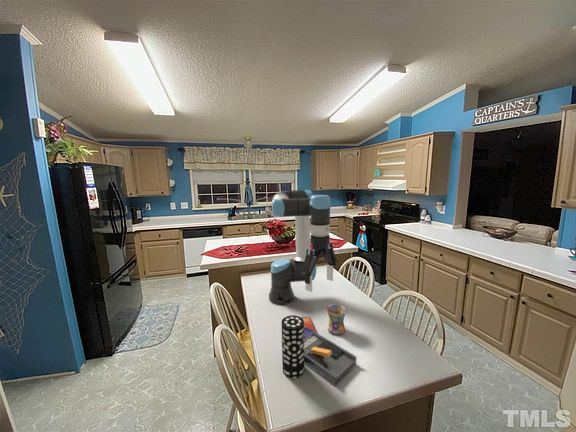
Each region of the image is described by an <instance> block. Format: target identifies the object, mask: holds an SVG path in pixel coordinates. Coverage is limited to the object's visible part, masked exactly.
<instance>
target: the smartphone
mask: <svg viewBox="0 0 576 432" xmlns="http://www.w3.org/2000/svg"><path fill="white" fill-rule="evenodd" d="M300 317H301V318H302V319H303V320H304V339H305V338H307V337H308V336H309V335H311V334H312V331H314V332H316V333H317V334H318V332H317V330H316V328H315V325H314V323H313V321H312V318H311V317H310V316H300Z"/></svg>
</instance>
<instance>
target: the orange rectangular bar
mask: <svg viewBox="0 0 576 432" xmlns="http://www.w3.org/2000/svg"><path fill="white" fill-rule="evenodd" d="M311 353H313V354H317V355H321V356H325V357H330V356H331V355H332V351H331V350H327V349H323V348H318V347H313V348H312V349H311Z"/></svg>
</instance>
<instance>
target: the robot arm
mask: <svg viewBox="0 0 576 432" xmlns="http://www.w3.org/2000/svg"><path fill="white" fill-rule="evenodd" d="M271 212H272V213H271V214H272V217H275V218H285V217H294V218H295V220H294V221H295V252H296V254H295V255H296V256H294V257H293V261H291V260H290V259H287V258H280V259H277V260H275V261H272V263H271V265H270V275H271V276H270V278H271V279H270V280H271V283H270V284H271V287H270V292H269V294H268V300H269V302H270V303H272V304H275V305H287V304H290V303H292V302H293V301H294V300H295V294H294V290H293V288H292V283H298V282H304V283H305V291H308V292H310V293H312V292H313V281H314V280H315V279H316V277H317V276H316V275H317V262H318V261H319V260H320V259H321V258H324V260H325V261H326V263H327V264H326V280H328V281H331V282H333V281H334V267H336V265H337V262H338V260H337V257H336V253H335V250H334V247H333V246H334V245H333V243H331V242H330V241H331V235H330V234H331V233H330V231H331V230H330V229H331V228H330V227H331V225H330V224H331V222H330V221H331V197H330V196H329V195H327V194H314V193H313V192H312V191H311V189H310V190H309V189H302V190H301V189H299V190H298V189H297V190H295V189H294V190H282V191H279V192H277V193H275V194H274V196H272V198H271ZM311 246H312V247H311Z"/></svg>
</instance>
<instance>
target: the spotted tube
mask: <svg viewBox="0 0 576 432" xmlns="http://www.w3.org/2000/svg"><path fill="white" fill-rule="evenodd" d="M301 317H302V316H298V315H290V314H289V315H286V316H285V317H283V318H282V320H281V354H282V355H281V357H282V358H281V362H282V373H283V375H284V376H285V377H287V378H290V379H298V378H300V377H302V376H303V375H304V373H305V364H304V339H305V338H304V320H303V319H302V318H301Z"/></svg>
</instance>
